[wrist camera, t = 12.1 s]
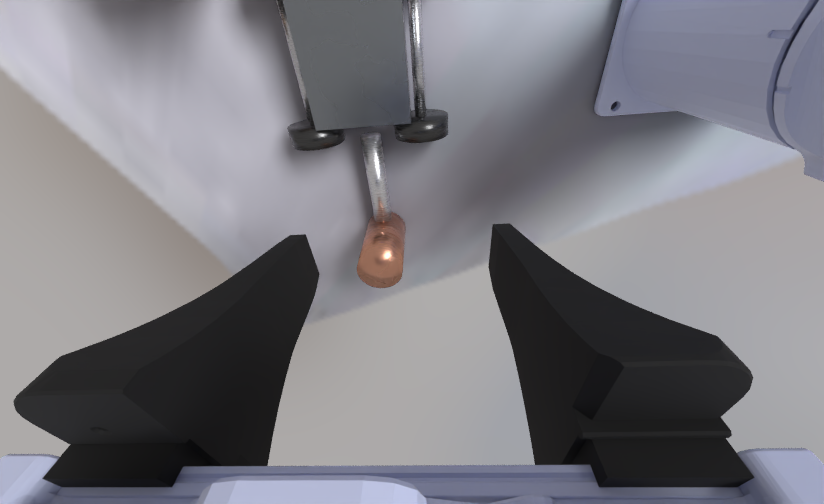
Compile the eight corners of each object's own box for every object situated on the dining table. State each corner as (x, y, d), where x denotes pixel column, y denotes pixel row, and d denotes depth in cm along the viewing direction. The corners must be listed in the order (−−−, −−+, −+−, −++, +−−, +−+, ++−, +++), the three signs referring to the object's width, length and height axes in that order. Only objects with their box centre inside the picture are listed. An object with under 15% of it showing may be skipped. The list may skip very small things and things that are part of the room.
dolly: (444, -61, 14) (449, -80, 11) (446, 125, 18) (450, 140, 16) (252, -39, 14) (217, -52, 12) (302, 136, 19) (285, 152, 17)
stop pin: (395, 129, 18) (388, 157, 14) (407, 242, 23) (404, 286, 19) (349, 132, 18) (330, 161, 14) (371, 243, 23) (361, 288, 19)
